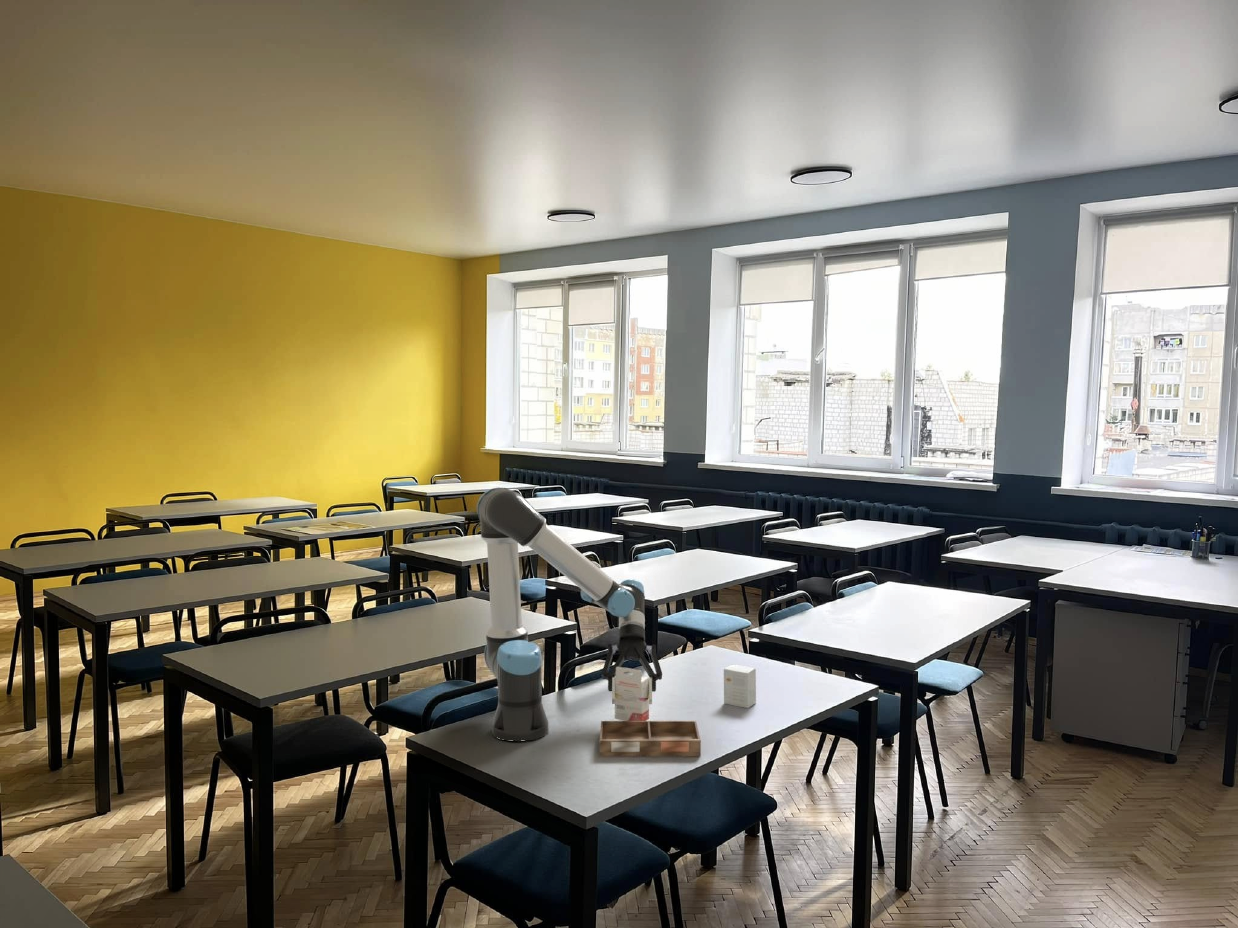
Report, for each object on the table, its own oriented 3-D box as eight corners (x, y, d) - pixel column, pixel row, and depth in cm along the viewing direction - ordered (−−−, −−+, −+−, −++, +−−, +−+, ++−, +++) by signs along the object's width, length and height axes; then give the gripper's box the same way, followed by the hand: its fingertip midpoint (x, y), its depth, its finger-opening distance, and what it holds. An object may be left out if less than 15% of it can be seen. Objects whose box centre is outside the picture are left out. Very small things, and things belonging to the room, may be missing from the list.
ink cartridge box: (649, 718, 231) (650, 666, 231) (641, 724, 227) (642, 671, 226) (622, 713, 235) (622, 661, 235) (613, 719, 231) (614, 666, 230)
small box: (756, 703, 247) (756, 668, 246) (748, 708, 242) (748, 672, 242) (731, 698, 251) (731, 663, 251) (723, 703, 247) (723, 668, 246)
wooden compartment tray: (599, 756, 208) (599, 741, 208) (601, 735, 222) (601, 720, 222) (700, 756, 208) (700, 740, 208) (696, 735, 222) (695, 720, 222)
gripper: (669, 636, 245) (672, 708, 230) (594, 635, 246) (591, 707, 231) (670, 622, 240) (673, 695, 225) (593, 622, 240) (591, 694, 225)
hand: (632, 701), depth 228 cm, fingers closed on ink cartridge box, 9 cm apart
